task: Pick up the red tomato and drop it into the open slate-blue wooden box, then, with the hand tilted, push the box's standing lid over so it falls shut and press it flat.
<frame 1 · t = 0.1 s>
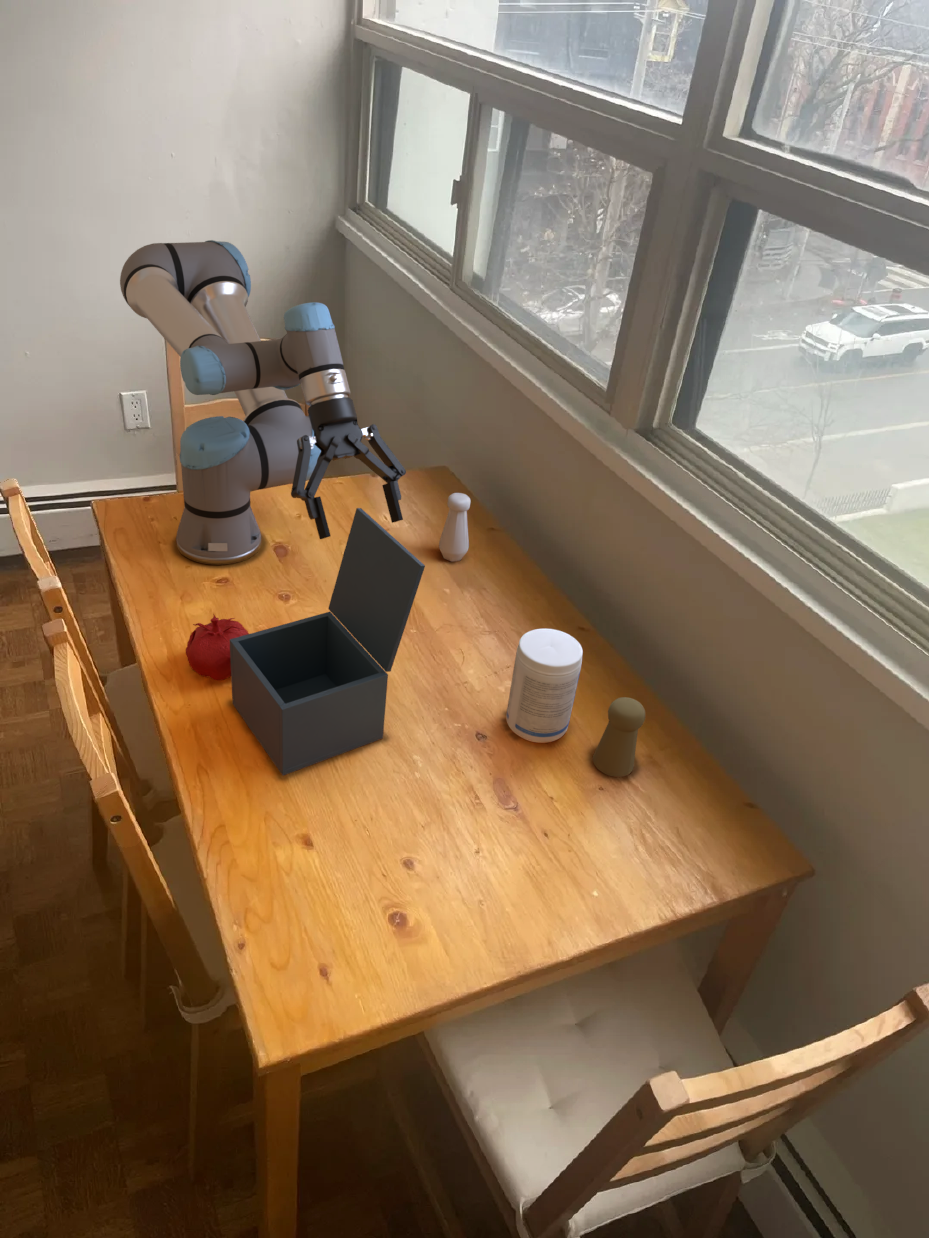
hand: (362, 529, 148), 15 cm above the table, tool tilted 35°, fingers open, 13 cm apart
salt shaker: (452, 557, 175), on the table
olive brown pawn: (612, 762, 132), on the table
lid: (373, 588, 125), point 20 cm above the table, hinge at 104.1°
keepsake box: (307, 721, 132), on the table
red tomato: (220, 667, 140), on the table
supplement tub: (535, 724, 137), on the table
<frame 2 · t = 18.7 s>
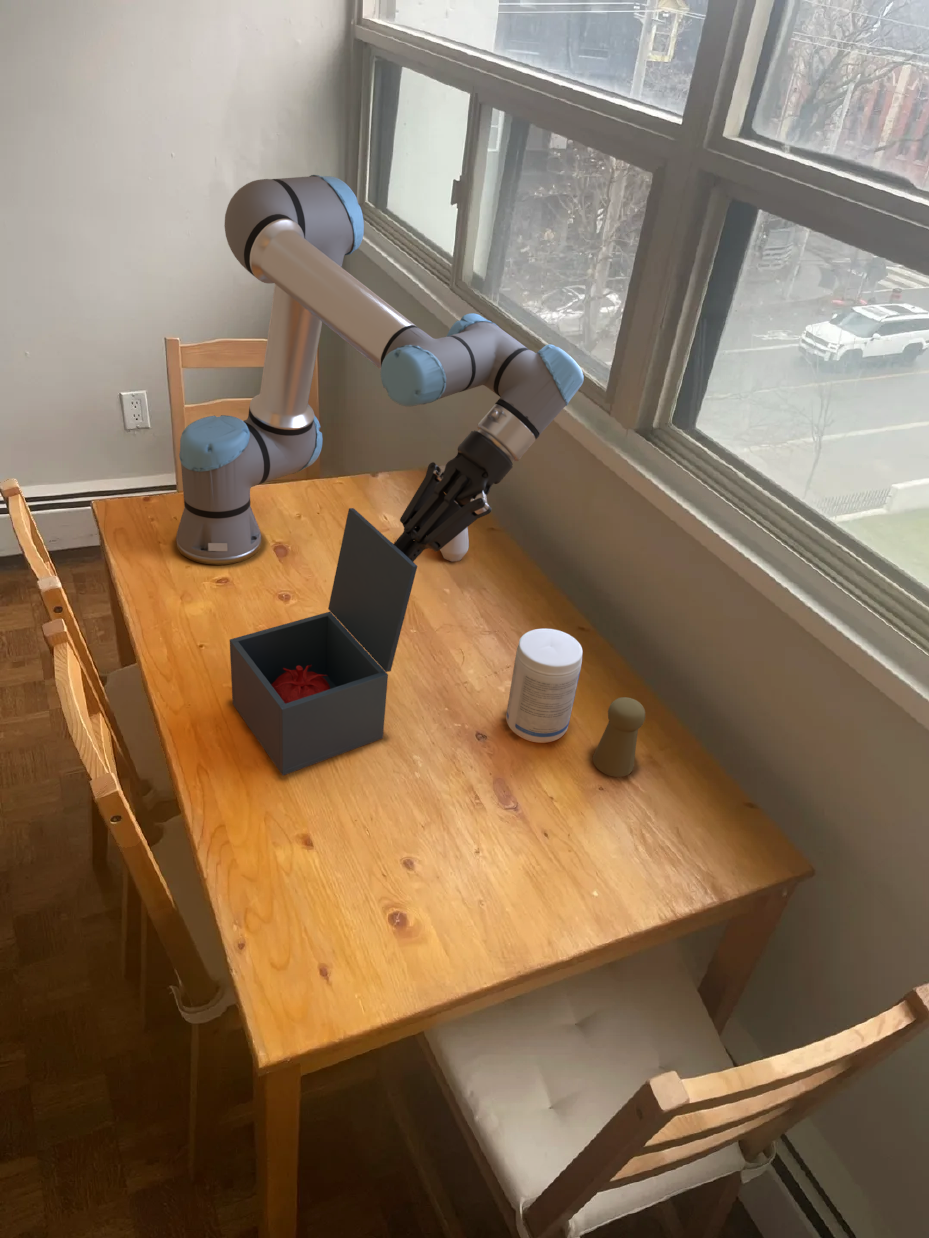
hand: (383, 575, 125), 22 cm above the table, tool tilted 45°, fingers closed
lid: (369, 589, 125), point 21 cm above the table, hinge at 99.7°, touching gripper
red tomato: (301, 720, 131), point 1 cm above the table, touching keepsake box
everything else where it was.
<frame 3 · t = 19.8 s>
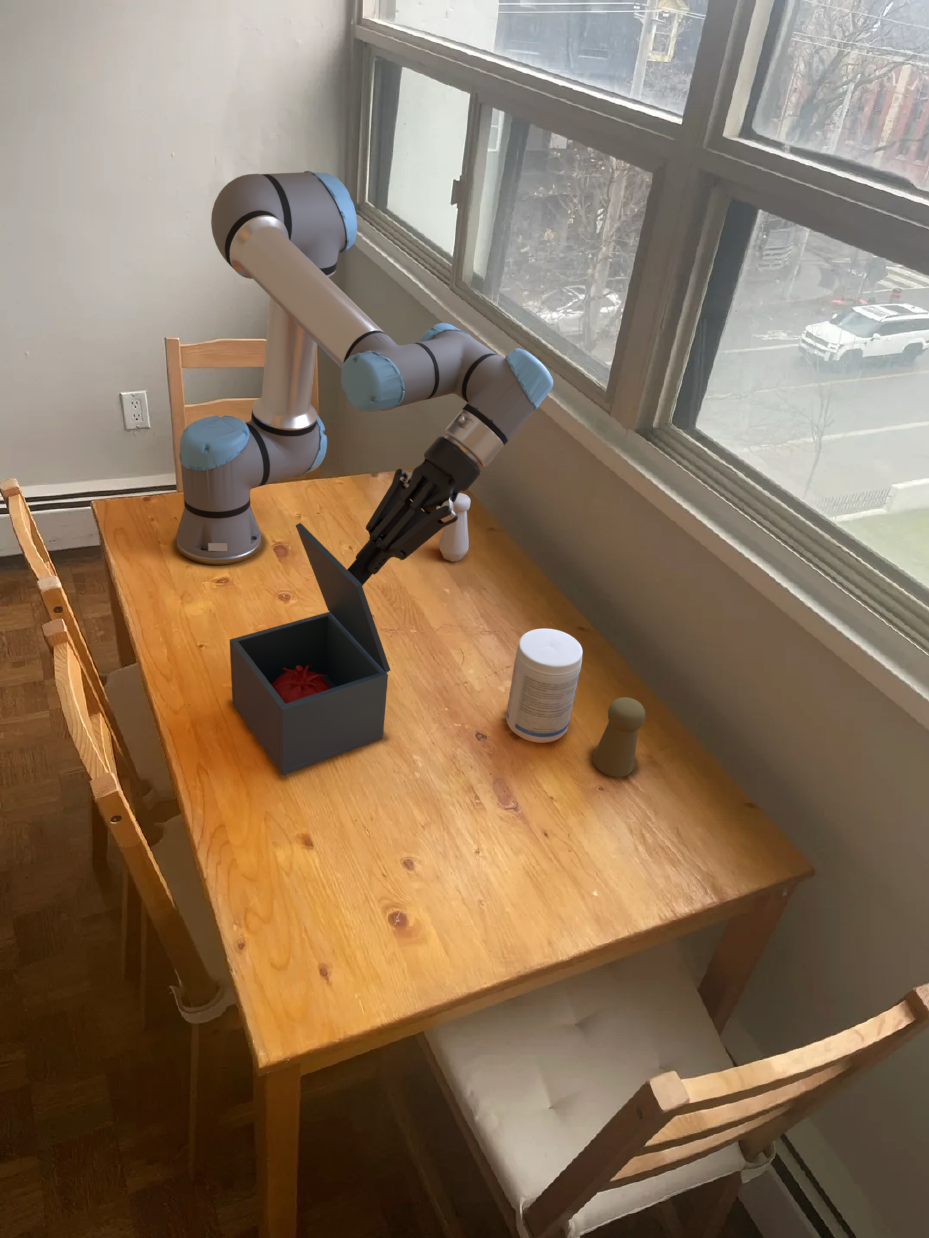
hand: (348, 585, 122), 22 cm above the table, tool tilted 45°, fingers closed
lid: (343, 598, 123), point 20 cm above the table, hinge at 71.0°, touching gripper
everything else where it was.
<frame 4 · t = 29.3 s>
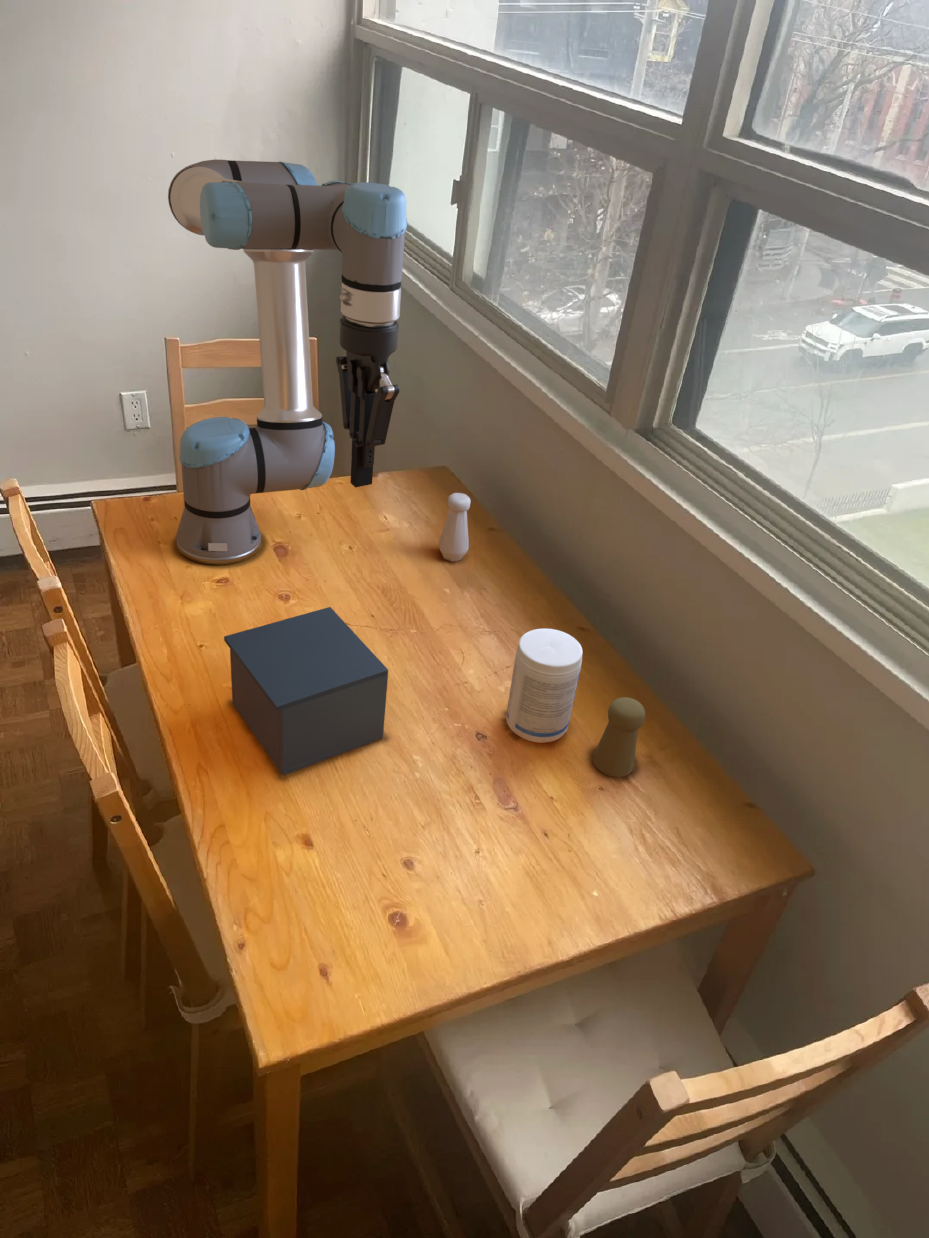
hand: (361, 483, 129), 30 cm above the table, tool pointing down, fingers closed
lid: (305, 655, 125), point 12 cm above the table, hinge at -0.1°
everything else where it was.
at the end: lid at +0° (first picture: +104°); red tomato inside the target area in the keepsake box (1.0 cm from its centre), point 0.7 cm above the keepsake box's base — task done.
